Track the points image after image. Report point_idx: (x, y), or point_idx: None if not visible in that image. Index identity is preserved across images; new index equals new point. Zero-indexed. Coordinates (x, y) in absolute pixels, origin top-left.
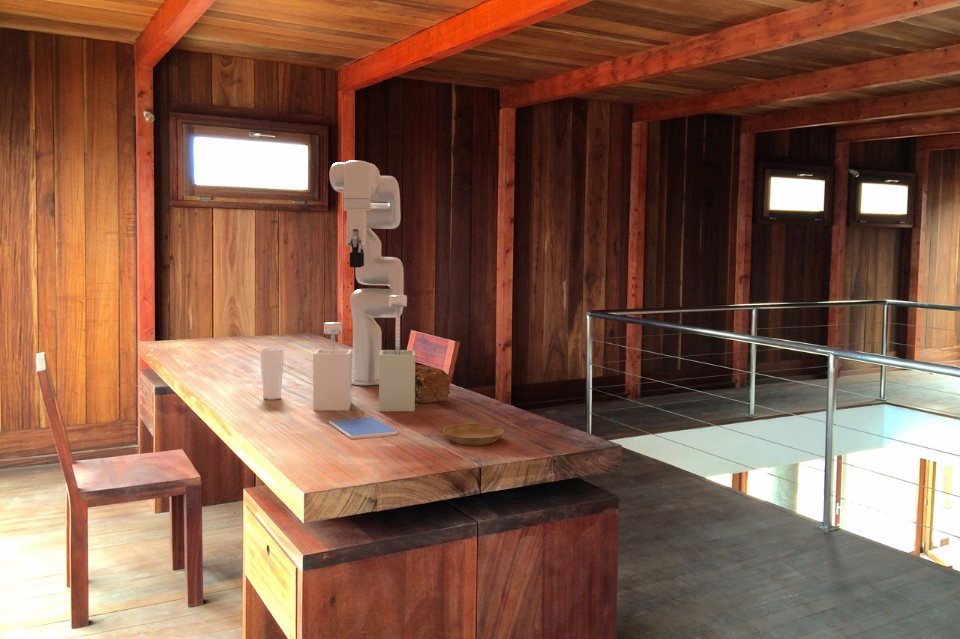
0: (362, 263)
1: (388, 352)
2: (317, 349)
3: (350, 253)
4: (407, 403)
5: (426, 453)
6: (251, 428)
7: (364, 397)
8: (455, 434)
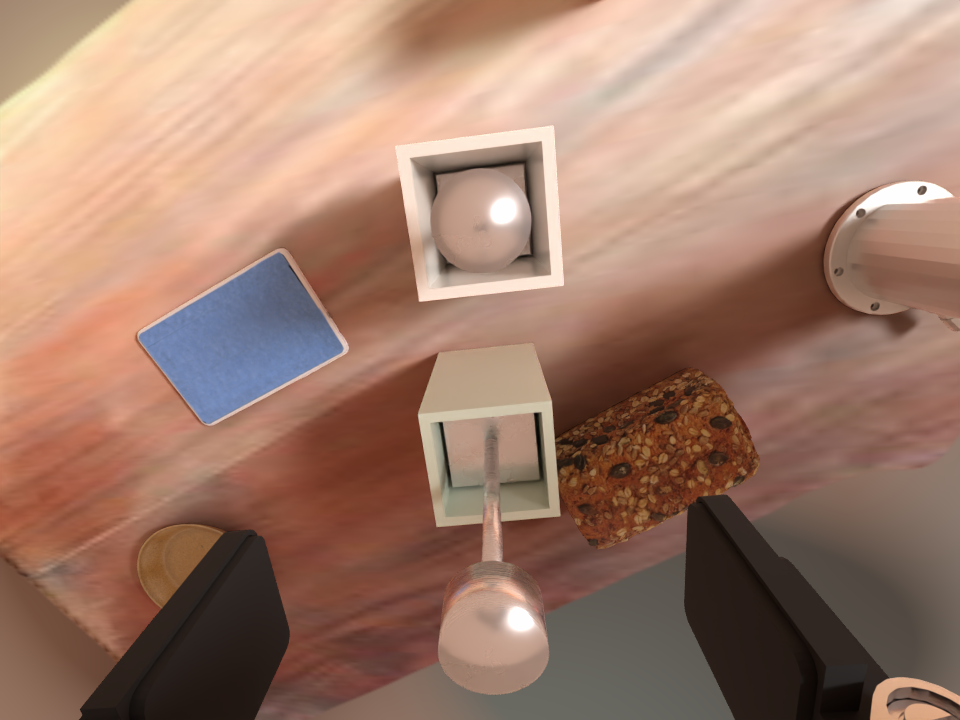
0: (696, 630)
1: (542, 427)
2: (537, 131)
3: (94, 708)
4: None
5: (79, 490)
6: (166, 41)
7: (628, 283)
8: None
